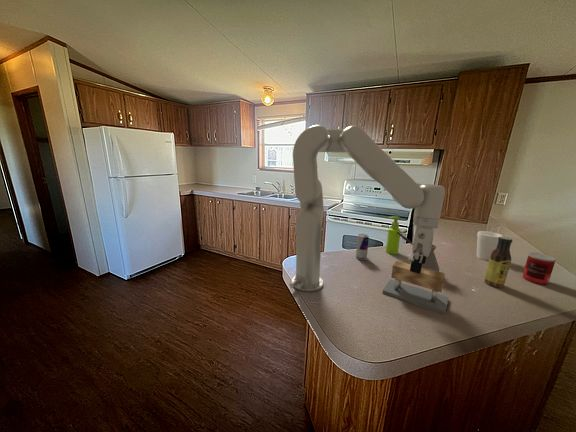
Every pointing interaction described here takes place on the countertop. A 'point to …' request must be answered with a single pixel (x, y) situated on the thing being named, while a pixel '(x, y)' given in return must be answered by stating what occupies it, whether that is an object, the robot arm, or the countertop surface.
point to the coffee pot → (430, 260)
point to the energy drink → (362, 246)
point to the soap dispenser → (393, 237)
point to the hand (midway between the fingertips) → (417, 267)
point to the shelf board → (418, 276)
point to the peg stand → (416, 295)
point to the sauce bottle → (499, 263)
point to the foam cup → (486, 244)
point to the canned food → (538, 268)
